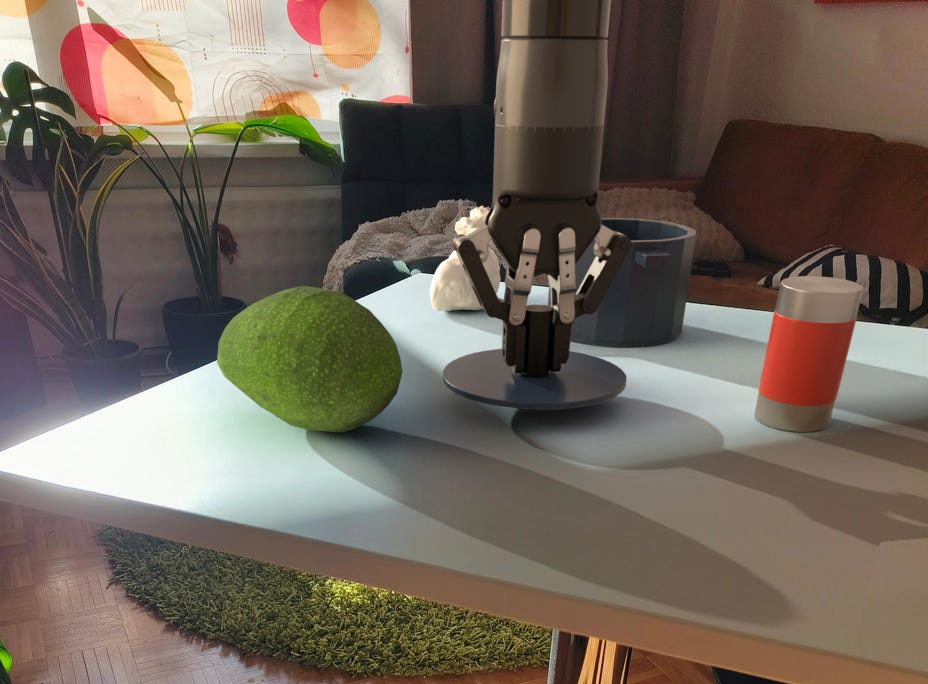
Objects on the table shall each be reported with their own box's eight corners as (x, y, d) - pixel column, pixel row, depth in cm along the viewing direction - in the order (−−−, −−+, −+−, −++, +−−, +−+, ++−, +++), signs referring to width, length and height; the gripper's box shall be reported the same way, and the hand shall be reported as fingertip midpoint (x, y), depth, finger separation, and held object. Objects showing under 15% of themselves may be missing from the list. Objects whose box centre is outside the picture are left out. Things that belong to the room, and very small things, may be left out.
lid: (592, 356, 79) (599, 284, 75) (652, 412, 67) (663, 328, 63) (429, 364, 77) (429, 289, 73) (460, 422, 65) (462, 337, 61)
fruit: (194, 420, 69) (172, 283, 63) (287, 387, 75) (275, 261, 70) (339, 466, 61) (329, 316, 55) (428, 426, 68) (427, 287, 62)
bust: (445, 340, 95) (507, 258, 88) (395, 289, 95) (453, 201, 88) (491, 316, 104) (552, 239, 97) (446, 269, 104) (503, 188, 97)
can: (806, 405, 72) (837, 274, 67) (844, 430, 67) (880, 291, 62) (740, 409, 71) (766, 277, 66) (774, 434, 67) (804, 294, 61)
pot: (644, 304, 100) (655, 212, 95) (714, 351, 85) (732, 245, 80) (526, 309, 98) (531, 215, 93) (576, 358, 83) (585, 249, 78)
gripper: (460, 122, 57) (457, 389, 67) (665, 121, 59) (634, 380, 69) (440, 115, 63) (440, 360, 73) (627, 114, 65) (603, 352, 75)
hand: (534, 368), depth 71 cm, fingers closed on lid, 2 cm apart
